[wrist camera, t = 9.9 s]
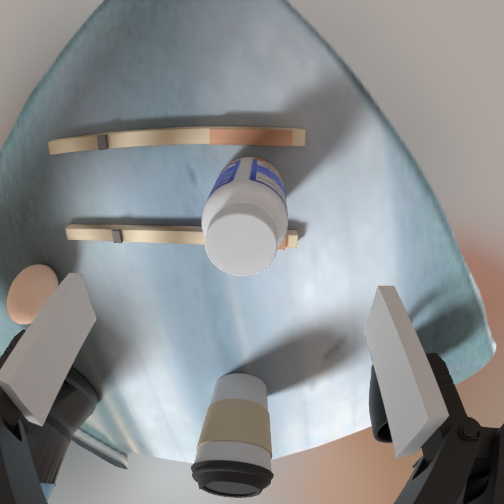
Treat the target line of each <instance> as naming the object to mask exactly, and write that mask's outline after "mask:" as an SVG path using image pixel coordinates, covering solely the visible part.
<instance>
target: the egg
mask: <svg viewBox="0 0 504 504" xmlns="http://www.w3.org/2000/svg"><path fill="white" fill-rule="evenodd" d="M57 287H58V279H57V276H56V274H55V272H54V271H53V270H52V269H51V268H50V267H48V266H46V265H41V264H37V265H31V266H29V267H27V268H25V269H24V270H22V271H21V272H20V273H19V274H18V275H17V277H16V278H15V279H14V281H13V282H12V284H11V286H10V289H9V292H8V296H7V302H6V304H7V311H8V314H9V316H10V318H11V319H12V320H13V321H14V322H16V323H18V324H30V323H32V321H33V320H34V318H35V317H36V316H37V314H38V313H39V312H40V310H41V309H42V307H43V306H44V305H45V303H46V302H47V301H48V299H49V298H50V297H51V295H52V294H53V293H54V291H55V290H56V289H57Z"/></svg>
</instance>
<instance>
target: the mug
mask: <svg viewBox="0 0 504 504" xmlns="http://www.w3.org/2000/svg"><path fill="white" fill-rule="evenodd" d="M369 412H370V418H371V424H372V429H373V435H374V438H375V439H376V440H378V441H380V442H385V443H393V441H392V437H391V432H390V428H389V424H388V419H387V415H386V411H385V407H384V403H383V399H382V395H381V391H380V387H379V384H378V380H377V376H376V372H375V369H374V365H372V369H371V381H370V391H369Z"/></svg>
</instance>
